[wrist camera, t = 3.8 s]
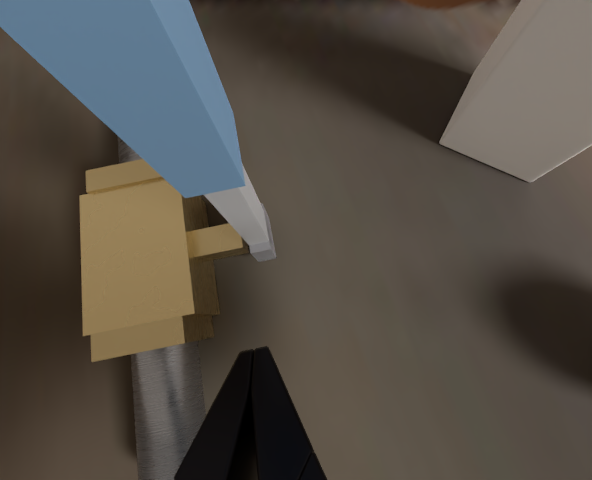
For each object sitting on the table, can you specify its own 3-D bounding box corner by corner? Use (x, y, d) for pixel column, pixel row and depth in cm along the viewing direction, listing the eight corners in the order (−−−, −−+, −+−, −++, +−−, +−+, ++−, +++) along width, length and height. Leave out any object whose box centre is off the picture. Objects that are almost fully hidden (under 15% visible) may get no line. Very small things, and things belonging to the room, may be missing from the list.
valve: (286, 449, 16) (277, 495, 12) (141, 478, 16) (84, 533, 12) (227, 96, 21) (207, 44, 17) (119, 118, 22) (73, 72, 17)
